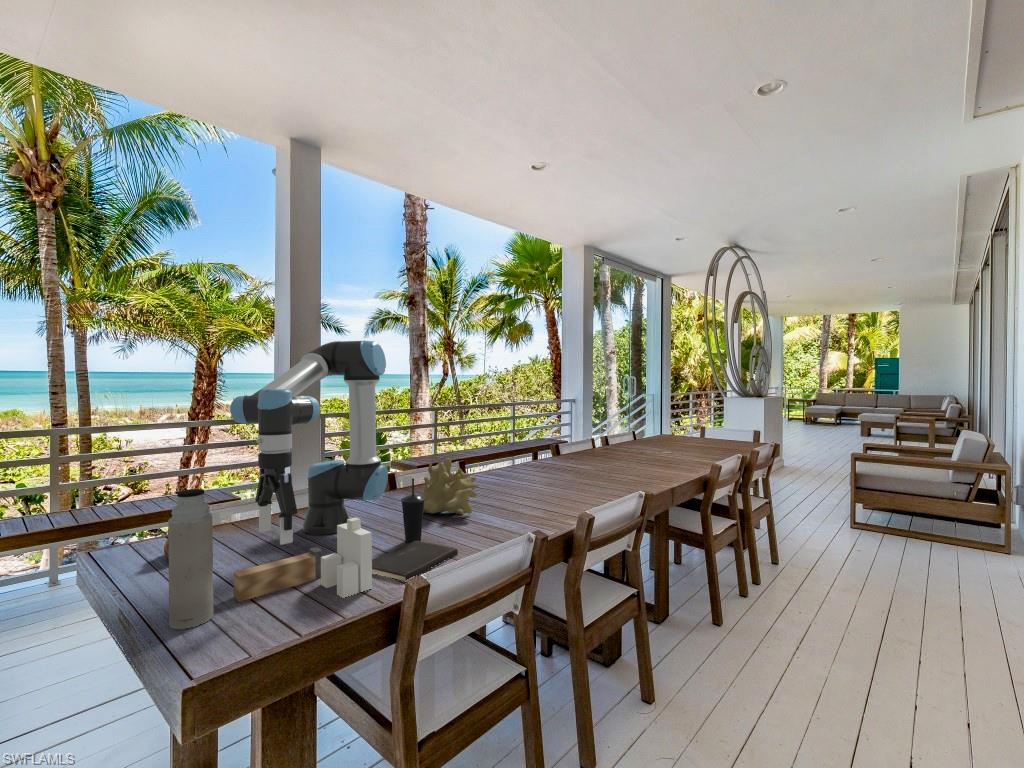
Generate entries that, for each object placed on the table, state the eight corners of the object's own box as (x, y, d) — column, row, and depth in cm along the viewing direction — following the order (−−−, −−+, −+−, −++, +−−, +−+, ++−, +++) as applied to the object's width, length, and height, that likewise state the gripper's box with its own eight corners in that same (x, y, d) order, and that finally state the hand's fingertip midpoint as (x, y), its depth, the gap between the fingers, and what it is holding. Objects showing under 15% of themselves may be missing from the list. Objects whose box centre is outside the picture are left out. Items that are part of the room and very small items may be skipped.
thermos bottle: (160, 630, 102) (159, 495, 102) (183, 612, 110) (181, 486, 110) (201, 628, 103) (199, 494, 102) (220, 610, 111) (219, 486, 110)
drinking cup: (420, 545, 153) (419, 481, 153) (397, 544, 155) (396, 480, 155) (429, 538, 161) (428, 476, 161) (407, 536, 162) (406, 475, 162)
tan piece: (239, 602, 115) (239, 572, 115) (233, 597, 118) (233, 567, 118) (322, 577, 129) (322, 550, 129) (316, 573, 132) (316, 547, 132)
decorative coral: (410, 476, 204) (455, 439, 199) (445, 513, 208) (490, 478, 203) (393, 506, 179) (444, 465, 174) (434, 547, 183) (485, 508, 178)
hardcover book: (360, 573, 133) (360, 564, 133) (415, 547, 153) (415, 540, 153) (406, 584, 126) (406, 575, 126) (458, 556, 146) (458, 548, 146)
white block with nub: (320, 584, 125) (320, 519, 125) (348, 575, 130) (347, 513, 130) (343, 599, 116) (342, 529, 116) (372, 589, 122) (371, 522, 122)
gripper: (241, 448, 128) (241, 529, 128) (279, 458, 111) (279, 552, 111) (271, 445, 134) (271, 524, 134) (312, 454, 116) (312, 544, 116)
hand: (275, 537), depth 122 cm, fingers open, 13 cm apart
